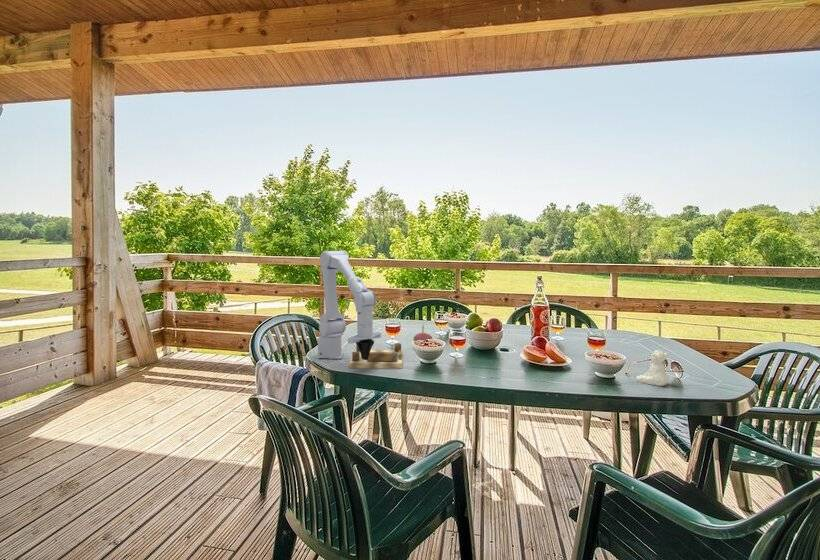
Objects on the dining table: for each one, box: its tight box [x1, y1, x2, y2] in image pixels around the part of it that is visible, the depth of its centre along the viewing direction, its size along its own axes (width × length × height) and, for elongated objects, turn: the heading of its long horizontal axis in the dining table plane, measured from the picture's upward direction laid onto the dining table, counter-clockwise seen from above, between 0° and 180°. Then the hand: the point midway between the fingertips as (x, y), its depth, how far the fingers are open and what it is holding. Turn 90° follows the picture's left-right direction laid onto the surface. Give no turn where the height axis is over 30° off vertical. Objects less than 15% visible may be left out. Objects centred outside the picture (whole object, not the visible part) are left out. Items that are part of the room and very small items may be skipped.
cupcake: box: [412, 324, 433, 342], centre depth 193 cm, size 9×8×12 cm
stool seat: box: [348, 342, 404, 370], centre depth 173 cm, size 20×20×5 cm
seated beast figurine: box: [635, 349, 669, 387], centre depth 149 cm, size 10×9×12 cm
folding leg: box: [367, 352, 398, 361], centre depth 166 cm, size 12×2×3 cm, turn 91°
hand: (364, 359), depth 162 cm, fingers closed
